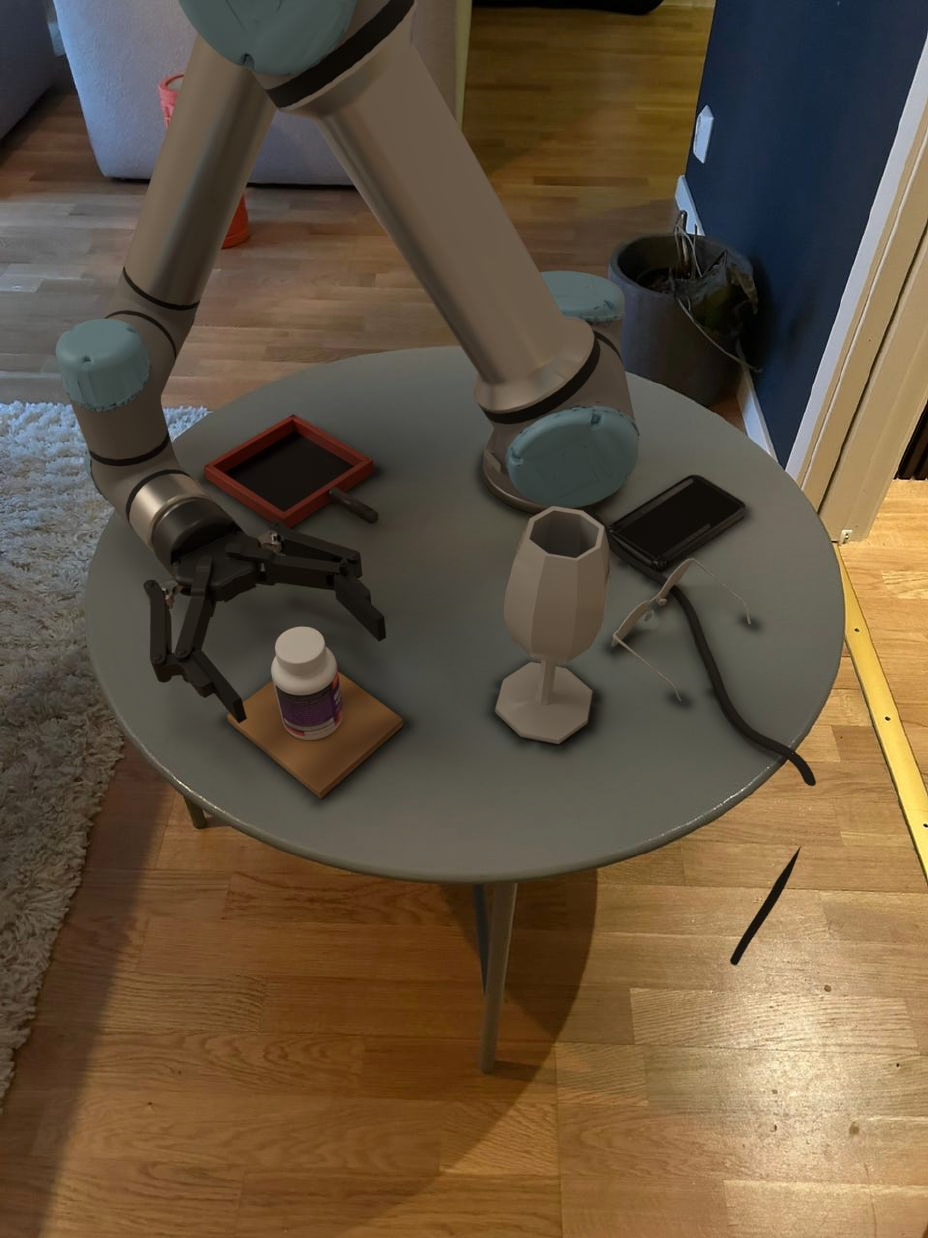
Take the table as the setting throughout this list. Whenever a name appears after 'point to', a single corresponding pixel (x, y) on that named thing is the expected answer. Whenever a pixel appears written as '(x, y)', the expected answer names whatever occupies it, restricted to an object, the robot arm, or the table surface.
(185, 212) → the robot arm
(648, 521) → the phone
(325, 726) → the pill bottle
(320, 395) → the table surface
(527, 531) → the wineglass
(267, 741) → the wooden board
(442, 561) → the table surface
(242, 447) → the pan
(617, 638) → the sunglasses
